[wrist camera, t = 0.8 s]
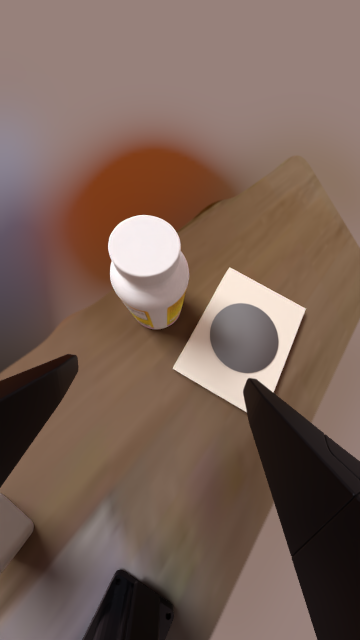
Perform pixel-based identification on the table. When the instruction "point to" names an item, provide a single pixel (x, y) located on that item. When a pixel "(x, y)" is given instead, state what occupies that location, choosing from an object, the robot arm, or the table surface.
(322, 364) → the table surface
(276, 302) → the base
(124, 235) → the supplement bottle
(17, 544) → the power adapter
